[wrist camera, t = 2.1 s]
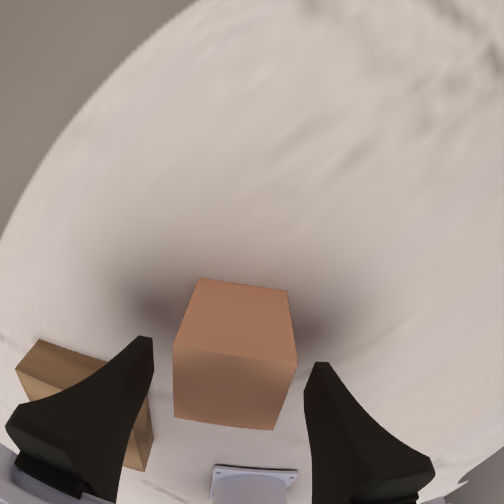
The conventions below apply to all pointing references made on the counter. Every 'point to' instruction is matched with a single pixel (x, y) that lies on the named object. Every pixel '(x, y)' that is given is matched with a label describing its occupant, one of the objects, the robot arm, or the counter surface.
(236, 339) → the terracotta block
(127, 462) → the walnut base block
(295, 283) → the counter surface
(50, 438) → the robot arm
